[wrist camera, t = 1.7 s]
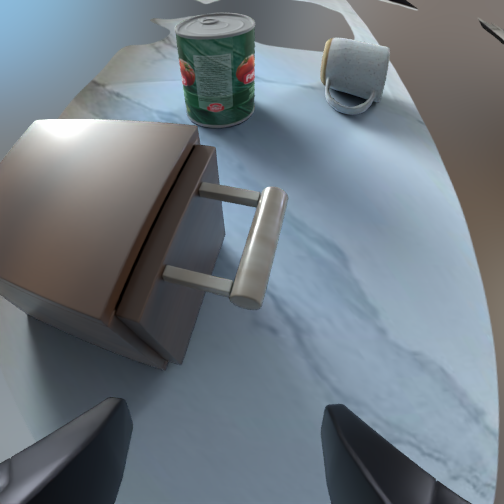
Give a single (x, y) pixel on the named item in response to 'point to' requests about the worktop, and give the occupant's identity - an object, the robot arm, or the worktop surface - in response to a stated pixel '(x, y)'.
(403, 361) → the worktop surface
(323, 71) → the ceramic mug
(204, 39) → the canned tomato
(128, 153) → the storage box
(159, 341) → the drawer
